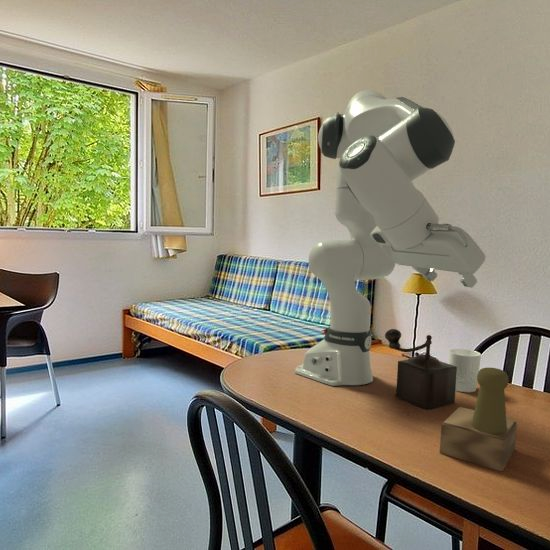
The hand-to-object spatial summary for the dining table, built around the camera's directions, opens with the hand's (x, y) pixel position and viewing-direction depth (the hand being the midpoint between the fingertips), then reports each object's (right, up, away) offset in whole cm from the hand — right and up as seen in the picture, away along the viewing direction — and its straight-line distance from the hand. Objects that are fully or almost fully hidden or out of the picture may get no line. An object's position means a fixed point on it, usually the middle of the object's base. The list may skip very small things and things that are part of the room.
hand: (451, 281), depth 84 cm
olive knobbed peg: (+8, -27, +3) cm, 29 cm away
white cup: (+19, -30, +44) cm, 57 cm away
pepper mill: (+4, -30, +33) cm, 45 cm away
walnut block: (+8, -33, +7) cm, 34 cm away
